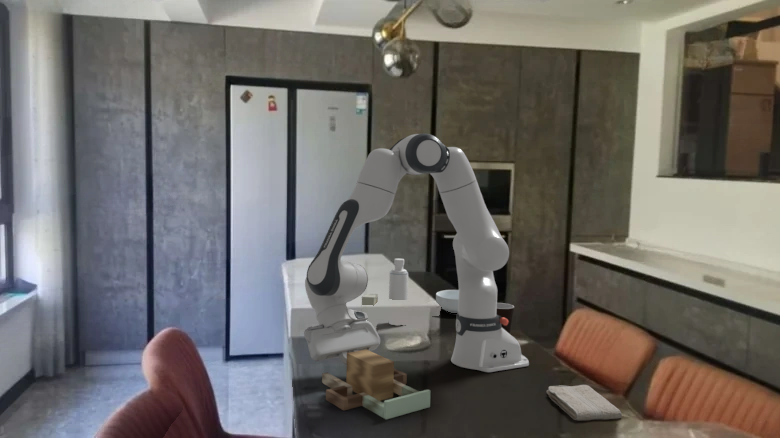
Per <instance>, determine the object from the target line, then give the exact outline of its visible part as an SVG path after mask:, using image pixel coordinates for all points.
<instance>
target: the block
mask: <svg viewBox="0 0 780 438" xmlns="http://www.w3.org/2000/svg"><path fill="white" fill-rule="evenodd" d="M394 369H395V361H393V360H391V359H389V358H387V357H384V356H382V355H380V354H377V353H375V352H373V351H372V350H371V351H369V350H367V349H366V350H360V351H355V352H350V353H347V365H346V370H345V371H346V376H345V377H346V380H345V382H346V383H348V384H349V385H351V386H352V393H355V394H359V393H366V394H368V395H370V396H372V397H373V398H375V399H377V400H379V401H381V402H382V401H385V400H389V399H393V398H394V392H393V382H394Z"/></svg>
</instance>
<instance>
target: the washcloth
mask: <svg viewBox="0 0 780 438" xmlns="http://www.w3.org/2000/svg"><path fill="white" fill-rule="evenodd" d="M547 388H548V389H547V390H546V394H547V395H548V398H550V399H551V401H552V402H553V403H554V404H556V405H557V406H559V408H560V409H561V410H563V411H564V413H566V414H567V415H568V416H569V417H570V418H571V419H573V420H574V421H580V422H581V421H583V422H584V421H591V420H592V421H593V420H617V419H618V420H619V419H621V418H622V417H623V416H622V412H621V410H620V409H619V408H617V407H616V406H615V405H614V404H612V403H611V402H610V401H609V400H608V399H607V398H605V397H603V395H601V393H598V392H597V391H596V390H594V388H592V387H591V386H590V385H588V384H579V385H573V386H569V385H562V384H561V385H560V384H559V385H550V386H548V387H547Z"/></svg>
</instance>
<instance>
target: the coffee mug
mask: <svg viewBox="0 0 780 438" xmlns="http://www.w3.org/2000/svg"><path fill="white" fill-rule="evenodd" d="M514 310H515V306H514V305H513V304H510V303H503V302H497V315H498V316H500V317H504V318H506V319H508V320H509V322H508V325H503V324H501V326H502V328H503V329H504V330H506V331H507V332H508V333H509V334H510V335H511V329H512V323H513V317H514V312H515V311H514Z"/></svg>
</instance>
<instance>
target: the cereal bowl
mask: <svg viewBox="0 0 780 438" xmlns="http://www.w3.org/2000/svg"><path fill="white" fill-rule="evenodd" d="M435 301H436V304H437V303H438V304H440V305H441V307H442V308H441V309H442V310H444V311H446V312H447V311H448V312H451V313H458V302H459V289H445V290H440V291H437V292H436V293H435ZM438 304H437V305H438ZM448 312H447V313H448ZM451 313H450V314H451Z"/></svg>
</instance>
